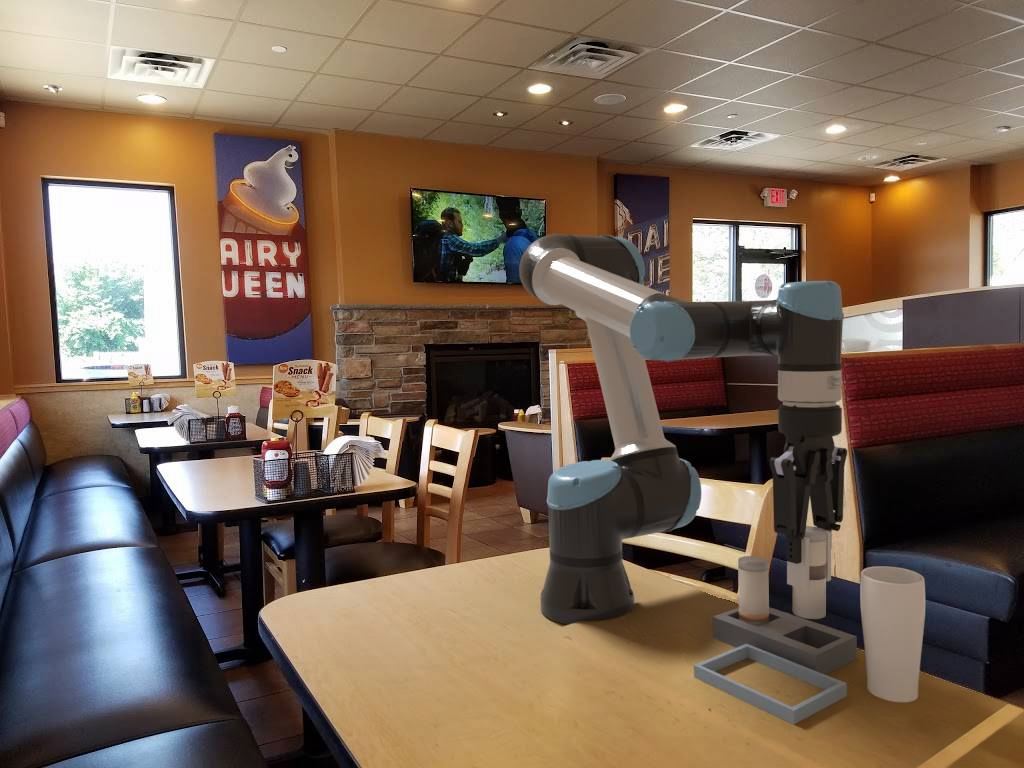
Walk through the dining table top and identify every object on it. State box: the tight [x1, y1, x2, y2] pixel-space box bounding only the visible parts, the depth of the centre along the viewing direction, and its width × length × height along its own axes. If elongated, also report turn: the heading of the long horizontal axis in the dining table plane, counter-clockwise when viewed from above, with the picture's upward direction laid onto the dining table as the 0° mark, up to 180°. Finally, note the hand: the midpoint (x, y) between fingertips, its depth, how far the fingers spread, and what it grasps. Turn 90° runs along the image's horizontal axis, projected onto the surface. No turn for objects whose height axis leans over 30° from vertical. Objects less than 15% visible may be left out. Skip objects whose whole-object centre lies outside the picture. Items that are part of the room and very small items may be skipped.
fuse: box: [737, 555, 770, 627], centre depth 102 cm, size 4×4×11 cm
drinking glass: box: [859, 565, 926, 703], centre depth 86 cm, size 7×7×15 cm
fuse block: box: [712, 606, 858, 675], centre depth 99 cm, size 16×9×4 cm, turn 34°
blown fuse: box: [792, 525, 827, 620], centre depth 95 cm, size 4×4×11 cm
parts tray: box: [693, 644, 848, 725], centre depth 89 cm, size 14×10×2 cm
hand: (809, 581), depth 95 cm, fingers closed on blown fuse, 4 cm apart
